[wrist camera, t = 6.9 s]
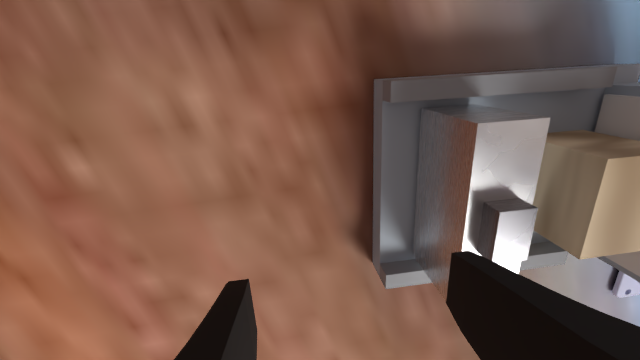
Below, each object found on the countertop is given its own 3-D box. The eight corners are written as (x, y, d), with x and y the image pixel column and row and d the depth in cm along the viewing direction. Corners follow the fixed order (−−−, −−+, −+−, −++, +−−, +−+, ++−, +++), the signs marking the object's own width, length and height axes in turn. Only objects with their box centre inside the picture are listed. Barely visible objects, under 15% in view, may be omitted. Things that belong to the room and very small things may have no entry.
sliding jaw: (475, 104, 16) (574, 121, 11) (457, 249, 19) (528, 319, 14) (421, 108, 16) (495, 128, 11) (412, 255, 19) (466, 329, 14)
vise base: (615, 64, 19) (779, 61, 12) (569, 237, 23) (676, 298, 17) (373, 79, 17) (428, 85, 11) (372, 262, 21) (411, 341, 15)
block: (582, 129, 18) (689, 151, 13) (563, 206, 20) (652, 249, 15) (520, 135, 18) (607, 159, 13) (506, 213, 19) (579, 259, 15)
